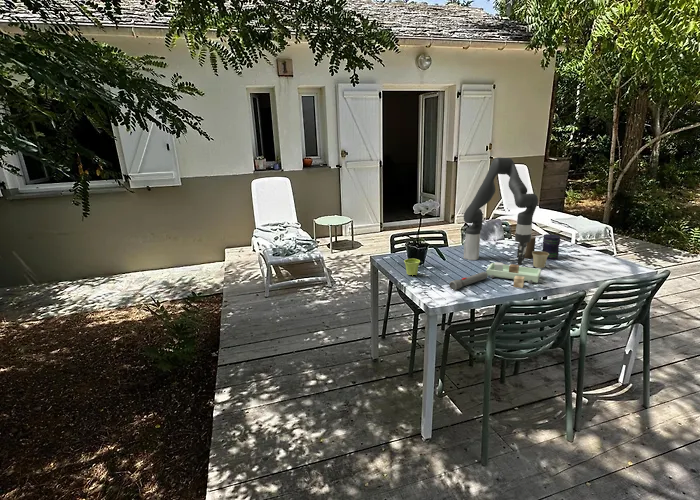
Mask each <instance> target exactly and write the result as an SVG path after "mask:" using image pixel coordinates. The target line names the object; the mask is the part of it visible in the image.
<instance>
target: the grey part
mask: <svg viewBox="0 0 700 500" xmlns="http://www.w3.org/2000/svg"><path fill="white" fill-rule="evenodd" d="M494 263H495V270H497V271H503V264H504V262H496V261H495V262H494Z"/></svg>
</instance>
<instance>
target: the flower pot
mask: <svg viewBox="0 0 700 500" xmlns="http://www.w3.org/2000/svg"><path fill="white" fill-rule="evenodd" d="M532 254H533V258H532V261H533V267H535V268H536V269H542V268H545V267H546V264H547V257H548V255H549V253H547V252H543V251H542V250H534V252H532Z"/></svg>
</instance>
